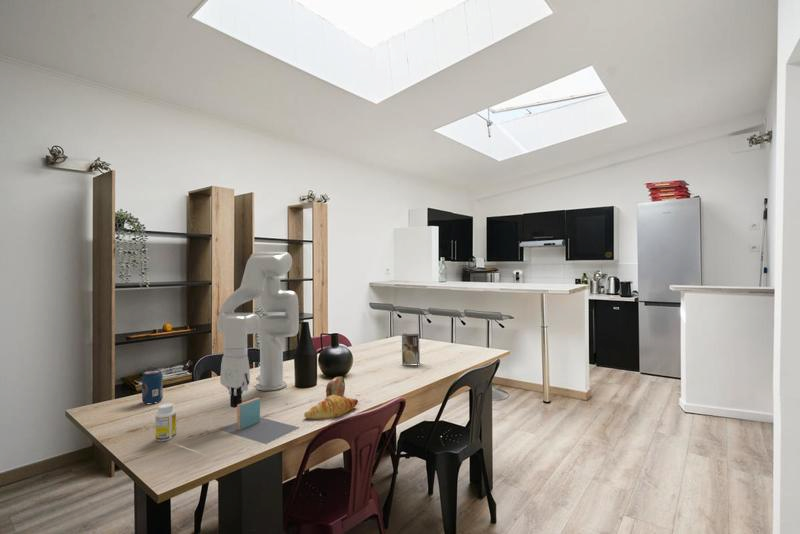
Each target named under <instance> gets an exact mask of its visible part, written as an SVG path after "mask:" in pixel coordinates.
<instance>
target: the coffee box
mask: <svg viewBox="0 0 800 534" xmlns="http://www.w3.org/2000/svg"><path fill="white" fill-rule="evenodd" d="M420 353H421V352H420V333H402V335H401V359H402V361H401V362H402V364H417V365H418V364H419V363H420V364H421V358H420ZM402 364H401V365H402ZM420 364H419V365H420ZM417 365H416V366H417Z"/></svg>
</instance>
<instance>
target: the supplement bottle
mask: <svg viewBox="0 0 800 534" xmlns="http://www.w3.org/2000/svg"><path fill="white" fill-rule="evenodd" d="M154 419H155V440H156V441H158V442H167V441H169V440H173V439H174V438H176V437H177V411H176V410H175V409H174V403H170V402H169V403H163V404H160V405H158V407H157V412H156V413H155V418H154Z"/></svg>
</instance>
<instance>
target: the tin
mask: <svg viewBox="0 0 800 534" xmlns="http://www.w3.org/2000/svg"><path fill="white" fill-rule="evenodd" d="M345 388H346V384H345V378H344V376H336V377H334V378H333V379H331V380H330V381H329V382H328V383H327V385H326V389H325V395H326V396H325V397H326V398H327V397H328V396H330V395H340V396H341V397H344V394H345V390H346V389H345Z"/></svg>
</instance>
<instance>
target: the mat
mask: <svg viewBox="0 0 800 534" xmlns="http://www.w3.org/2000/svg"><path fill="white" fill-rule="evenodd" d="M298 429H301V428H300V427H299V426H296V425H292V424H288V423H284V422H280V421H277V420H274V419H269V418H265V417H261V416H260V422H258V423H256V424H253V425H251V426H249V427H246V428H244V429H241V430H238V429H237V422H235V423H232V424H229V425H227V426H225V427H221V428H219V431H223V432H226V433H229V434H232V435H235V436H239V437H243V438H245V439H249V440H252V441H255V442H259V443H261V444H265V445H267V444H269V443H271V442H273V441H276V440H278V439H279V438H282V437H283V436H286V435H287V434H290V433H292V432H294V431H296V430H298Z"/></svg>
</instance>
